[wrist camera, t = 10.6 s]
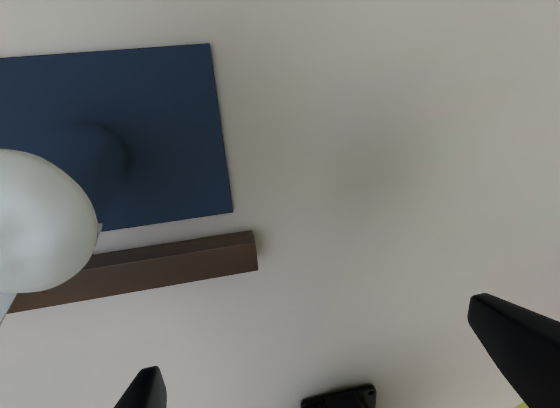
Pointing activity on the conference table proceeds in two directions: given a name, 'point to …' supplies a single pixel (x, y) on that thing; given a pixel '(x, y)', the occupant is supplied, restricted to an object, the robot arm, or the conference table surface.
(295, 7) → the conference table surface
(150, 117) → the mat
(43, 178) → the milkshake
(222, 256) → the bar
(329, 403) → the robot arm
